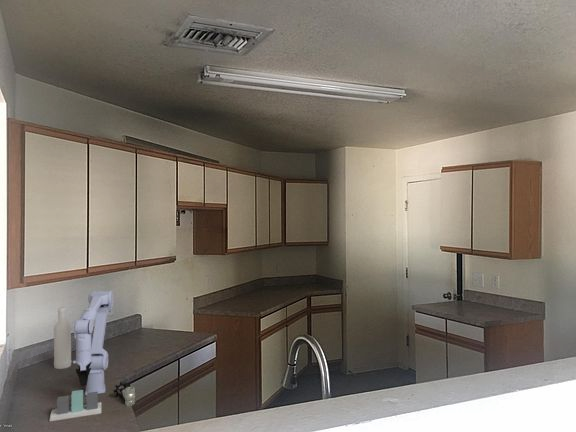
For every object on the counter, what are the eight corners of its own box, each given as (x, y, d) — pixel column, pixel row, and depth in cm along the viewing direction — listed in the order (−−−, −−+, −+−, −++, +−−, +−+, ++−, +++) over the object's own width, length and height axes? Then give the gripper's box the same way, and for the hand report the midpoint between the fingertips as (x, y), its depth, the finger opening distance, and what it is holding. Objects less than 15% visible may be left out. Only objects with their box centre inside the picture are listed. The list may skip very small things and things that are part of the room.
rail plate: (52, 411, 180) (52, 395, 180) (101, 404, 187) (101, 388, 187) (49, 421, 172) (49, 404, 172) (101, 413, 178) (101, 397, 178)
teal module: (72, 407, 181) (72, 391, 180) (83, 405, 182) (83, 389, 182) (71, 412, 176) (71, 395, 176) (82, 410, 178) (82, 393, 178)
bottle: (74, 363, 236) (73, 306, 236) (67, 369, 228) (66, 309, 228) (58, 364, 236) (57, 306, 235) (51, 369, 228) (50, 309, 228)
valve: (139, 403, 188) (128, 394, 197) (139, 387, 188) (128, 379, 196) (124, 408, 183) (113, 399, 192) (124, 391, 183) (112, 383, 192)
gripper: (73, 345, 191) (74, 377, 191) (71, 355, 177) (72, 390, 177) (92, 343, 193) (92, 375, 193) (91, 353, 180) (91, 387, 180)
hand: (84, 382), depth 186 cm, fingers open, 7 cm apart
